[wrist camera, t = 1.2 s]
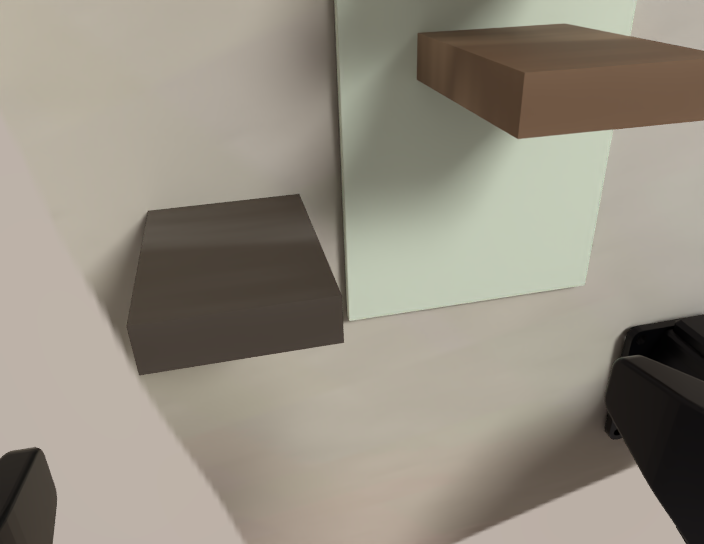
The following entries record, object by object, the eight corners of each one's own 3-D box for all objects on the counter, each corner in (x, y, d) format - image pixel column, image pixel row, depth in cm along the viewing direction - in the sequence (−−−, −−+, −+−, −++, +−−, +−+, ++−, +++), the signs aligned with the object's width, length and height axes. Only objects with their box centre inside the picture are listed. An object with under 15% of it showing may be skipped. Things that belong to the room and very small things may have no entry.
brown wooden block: (558, 68, 20) (714, 119, 14) (416, 79, 19) (517, 139, 13) (564, 23, 19) (731, 56, 13) (417, 32, 18) (524, 73, 12)
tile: (301, 231, 21) (344, 342, 15) (156, 249, 20) (139, 375, 14) (299, 193, 20) (341, 295, 14) (148, 211, 19) (126, 326, 13)
